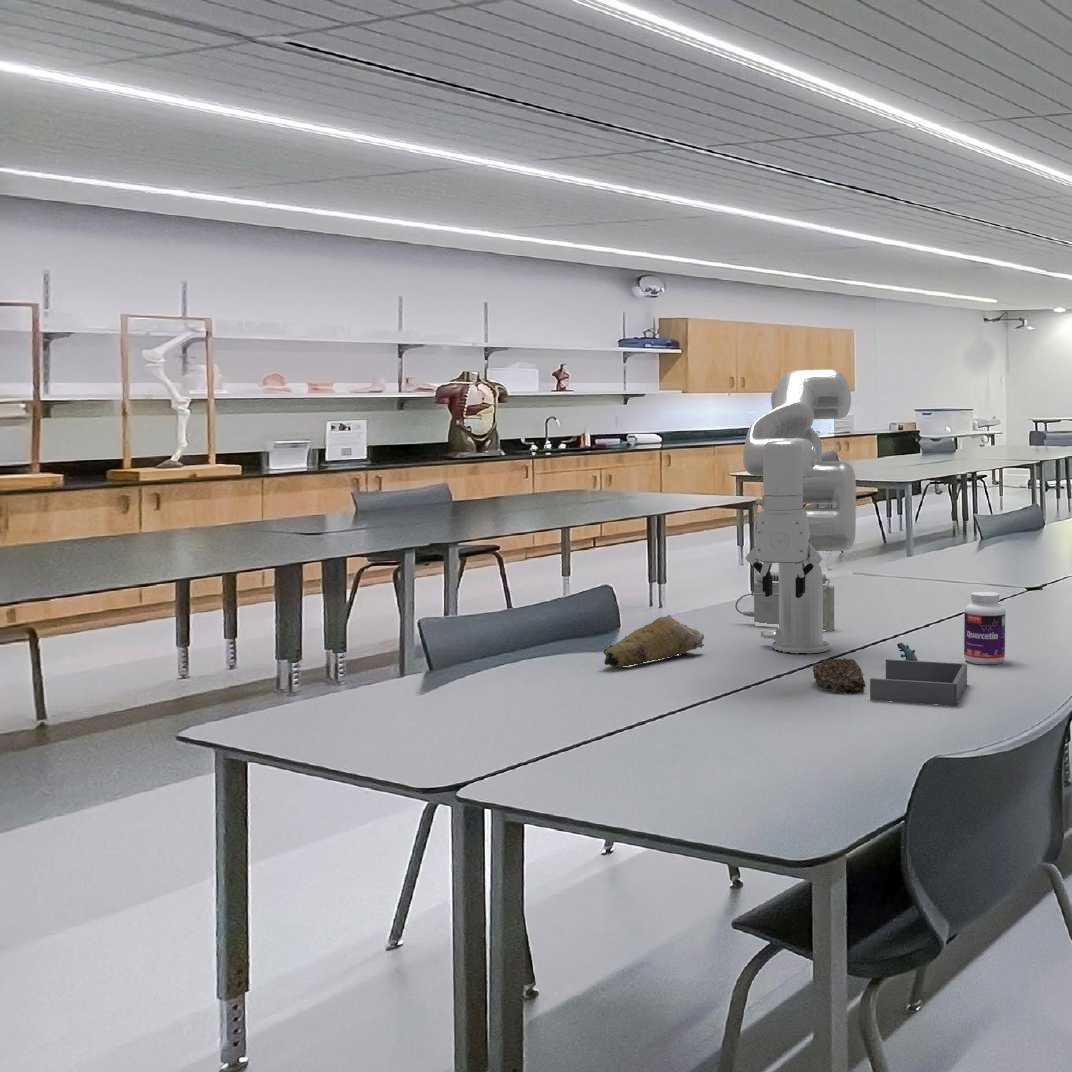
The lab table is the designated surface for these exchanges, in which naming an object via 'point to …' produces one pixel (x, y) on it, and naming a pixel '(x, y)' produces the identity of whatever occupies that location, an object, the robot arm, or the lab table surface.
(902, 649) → the sculpture
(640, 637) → the mineral
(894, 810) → the lab table surface
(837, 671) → the concrete sample
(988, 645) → the pill bottle
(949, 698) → the tray
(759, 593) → the geiger counter
